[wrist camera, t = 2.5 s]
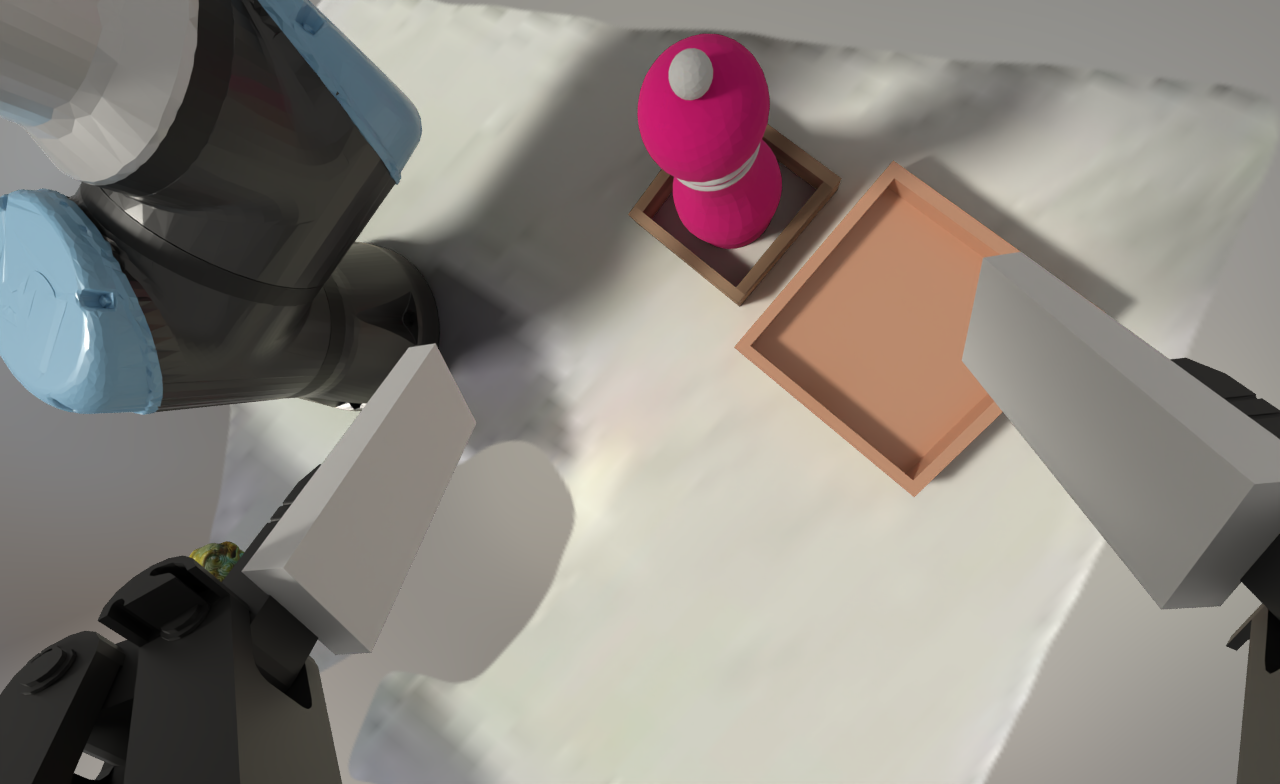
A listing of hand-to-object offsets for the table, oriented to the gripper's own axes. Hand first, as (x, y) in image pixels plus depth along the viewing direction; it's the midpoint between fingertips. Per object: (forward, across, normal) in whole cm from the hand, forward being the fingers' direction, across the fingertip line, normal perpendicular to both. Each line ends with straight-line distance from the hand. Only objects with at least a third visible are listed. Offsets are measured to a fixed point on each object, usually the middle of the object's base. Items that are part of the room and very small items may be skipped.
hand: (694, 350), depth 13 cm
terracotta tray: (+22, -13, +15) cm, 29 cm away
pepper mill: (+29, -3, +6) cm, 30 cm away
